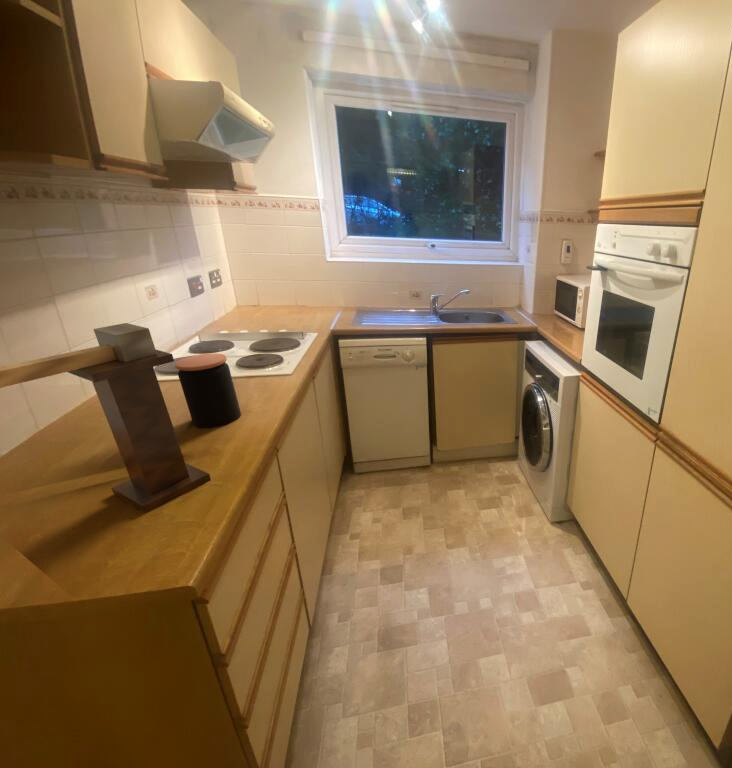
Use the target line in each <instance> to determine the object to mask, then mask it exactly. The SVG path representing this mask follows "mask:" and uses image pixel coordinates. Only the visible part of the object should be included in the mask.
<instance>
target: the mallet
mask: <svg viewBox="0 0 732 768" xmlns="http://www.w3.org/2000/svg"><path fill="white" fill-rule="evenodd" d="M93 332H94V335H95V338H96V340H97V343H98V346H93V347H88V348H84V349H79V350H74V351H69V352H64V353H59V354H55V355H51V356H46V357H41V358H35V359H32V360H27V361H23V362H22V361H21V362H17V363H12V364H8V365H3V366H0V389H1V388H2V389H3V388H6V387H10V386H14V385H18V384H23V383H27V382H31V381H35V380H39V379H43V378H47V377H51V376H55V375H59V374H64V373H68V372H69V371H73V370H77V369H81V368H85V367H89V366H93V365H98V364H102V363H106V362H110V361H114V360H120V361H123V362H128V361H132V360H136V359H140V358H144V357H149V356H153V355H157V353H156V350H157V349H156V347H155V344H154V340H153V337H152V333H151V331H150V328H149V327H144V326H141V325H136V324H132V323H128V322H123V323H118V324H113V325H107V326H102V327H97V328H96V327H95V328H94V329H93Z"/></svg>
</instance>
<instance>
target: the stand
mask: <svg viewBox="0 0 732 768" xmlns="http://www.w3.org/2000/svg"><path fill="white" fill-rule="evenodd" d="M156 353H157V355H153V356H149V357H144V358H140V359H136V360H132V361H128V362H123V361H120V360H114V361H110V362H106V363H102V364H98V365H93V366H89V367H85V368H81V369H77V370H73V371H69V372H67V373H68V374H71V375H74V376H75V377H79V378H81V379H84V380H87V381H89V382H92V386H93V387H94V391H95V393H96V394H97V398H98V401H99V404H100V405H101V408H102V410H103V413H104V416H105V418H106V421H107V423H108V426H109V428H110V431H111V433H112V436H113V438H114V441H115V444H116V446H117V449H118V451H119V454H120V456H121V459H122V462H123V464H124V466H125V469H126V472H127V474H128V477H129V480H127V481H124V482H122V483H119V484H118V485H115V486H113V487H111V490H112V493H113V495H115V496H116V497H119V498H120V499H122V500H124V501H125V502H127V503H129V504H130V505H132V506H134V507H135V508H137V509H139V510H141V511H142V512H144V513H147V512H150V511H151V510H153V509H155V508H157V507H160V506H162V505H163V504H165V503H167V502H169V501H172V500H173V499H175V498H178V497H179V496H181V495H183V494H185V493H187V492H189V491H191V490H193V489H195V488H197V487H199V486H201V485H203V484H205V483H207V482H209V481H211V480H212V478H211V475H210V473H209V472H207V471H204V470H202V469H200V468H197V467H195V466H193V465H191V464H189V463H186V461H185V459H184V455H183V452H182V449H181V447H180V443H179V440H178V437H177V434H176V431H175V428H174V426H173V423H172V419H171V417H170V414H169V410H168V407H167V404H166V402H165V398H164V395H163V393H162V389H161V386H160V383H159V380H158V377H157V375H156V374H157V373H156V371H155V368H154V367H158V366H162V365H167V364H169V363H170V364H171V363H173V362H175V359H174V356H173V353H170V352H166V351H162V350H159V349H156Z"/></svg>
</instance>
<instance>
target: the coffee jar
mask: <svg viewBox="0 0 732 768" xmlns="http://www.w3.org/2000/svg"><path fill="white" fill-rule="evenodd" d="M227 360H228V359H227V356H226V355H225V354H223V353H218V352H217V353H216V352H215V353H213V352H212V353H211V352H210V353H201V354H195V355H190V356H187V357H184V358H180V359H179V360H177V361H176V362H175V363H174V366H175V368H176V370H178V372H177V376H178V379H179V382H180V385H181V389H182V392H183V396H184V398H185V401H186V405H187V408H188V411H189V415H190V418H191V421H192V425H193V426H194V427H195V428H197V429H214V428H215V429H216V428H219V427H224V426H227V425H230V424H232V423H234V422H236V421H238V420H239V419H240V418H241V416H242V412H241V409H240V403H239V400H238V395H237V393H236V389H235V385H234V381H233V377H232V373H231V370H230V366H229V363H227Z"/></svg>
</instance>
